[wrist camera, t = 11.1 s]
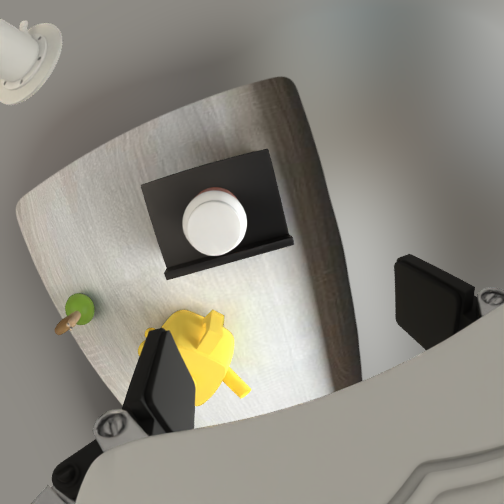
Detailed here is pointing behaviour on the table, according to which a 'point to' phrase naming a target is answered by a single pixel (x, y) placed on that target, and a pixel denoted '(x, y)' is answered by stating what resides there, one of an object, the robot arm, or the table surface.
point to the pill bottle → (214, 221)
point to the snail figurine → (76, 313)
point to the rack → (247, 193)
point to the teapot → (204, 352)
